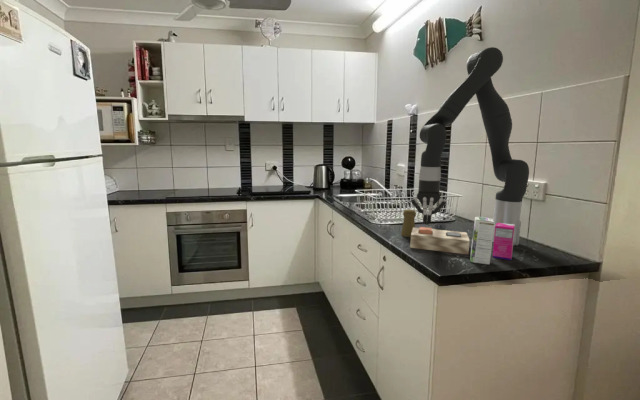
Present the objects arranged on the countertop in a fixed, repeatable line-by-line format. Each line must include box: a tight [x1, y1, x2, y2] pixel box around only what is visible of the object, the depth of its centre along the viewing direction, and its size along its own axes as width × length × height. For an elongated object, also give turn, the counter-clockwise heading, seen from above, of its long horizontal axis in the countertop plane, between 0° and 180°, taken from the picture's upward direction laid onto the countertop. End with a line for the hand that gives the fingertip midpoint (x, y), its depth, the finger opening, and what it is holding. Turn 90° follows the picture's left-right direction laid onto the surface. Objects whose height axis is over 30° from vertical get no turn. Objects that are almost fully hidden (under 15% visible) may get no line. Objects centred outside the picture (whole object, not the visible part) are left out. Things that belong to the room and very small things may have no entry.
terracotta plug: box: [419, 226, 433, 234], centre depth 126 cm, size 4×4×5 cm
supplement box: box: [492, 223, 515, 261], centre depth 114 cm, size 6×6×12 cm
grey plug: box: [447, 232, 460, 237], centre depth 123 cm, size 4×4×5 cm
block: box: [409, 226, 471, 255], centre depth 125 cm, size 20×12×5 cm, turn 71°
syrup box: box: [469, 216, 495, 265], centre depth 109 cm, size 6×6×14 cm
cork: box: [400, 208, 417, 238], centre depth 140 cm, size 6×6×11 cm
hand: (426, 224), depth 126 cm, fingers closed
